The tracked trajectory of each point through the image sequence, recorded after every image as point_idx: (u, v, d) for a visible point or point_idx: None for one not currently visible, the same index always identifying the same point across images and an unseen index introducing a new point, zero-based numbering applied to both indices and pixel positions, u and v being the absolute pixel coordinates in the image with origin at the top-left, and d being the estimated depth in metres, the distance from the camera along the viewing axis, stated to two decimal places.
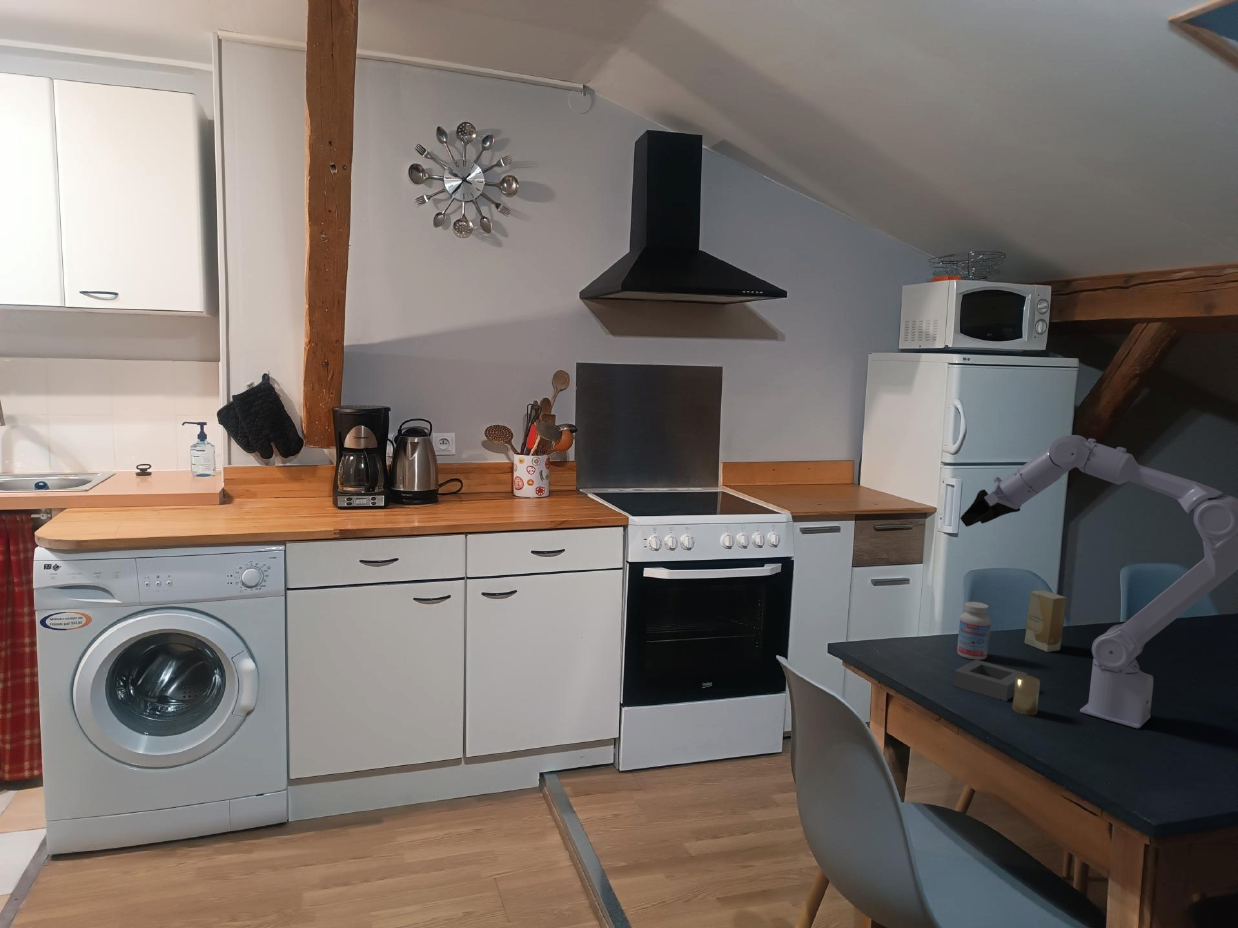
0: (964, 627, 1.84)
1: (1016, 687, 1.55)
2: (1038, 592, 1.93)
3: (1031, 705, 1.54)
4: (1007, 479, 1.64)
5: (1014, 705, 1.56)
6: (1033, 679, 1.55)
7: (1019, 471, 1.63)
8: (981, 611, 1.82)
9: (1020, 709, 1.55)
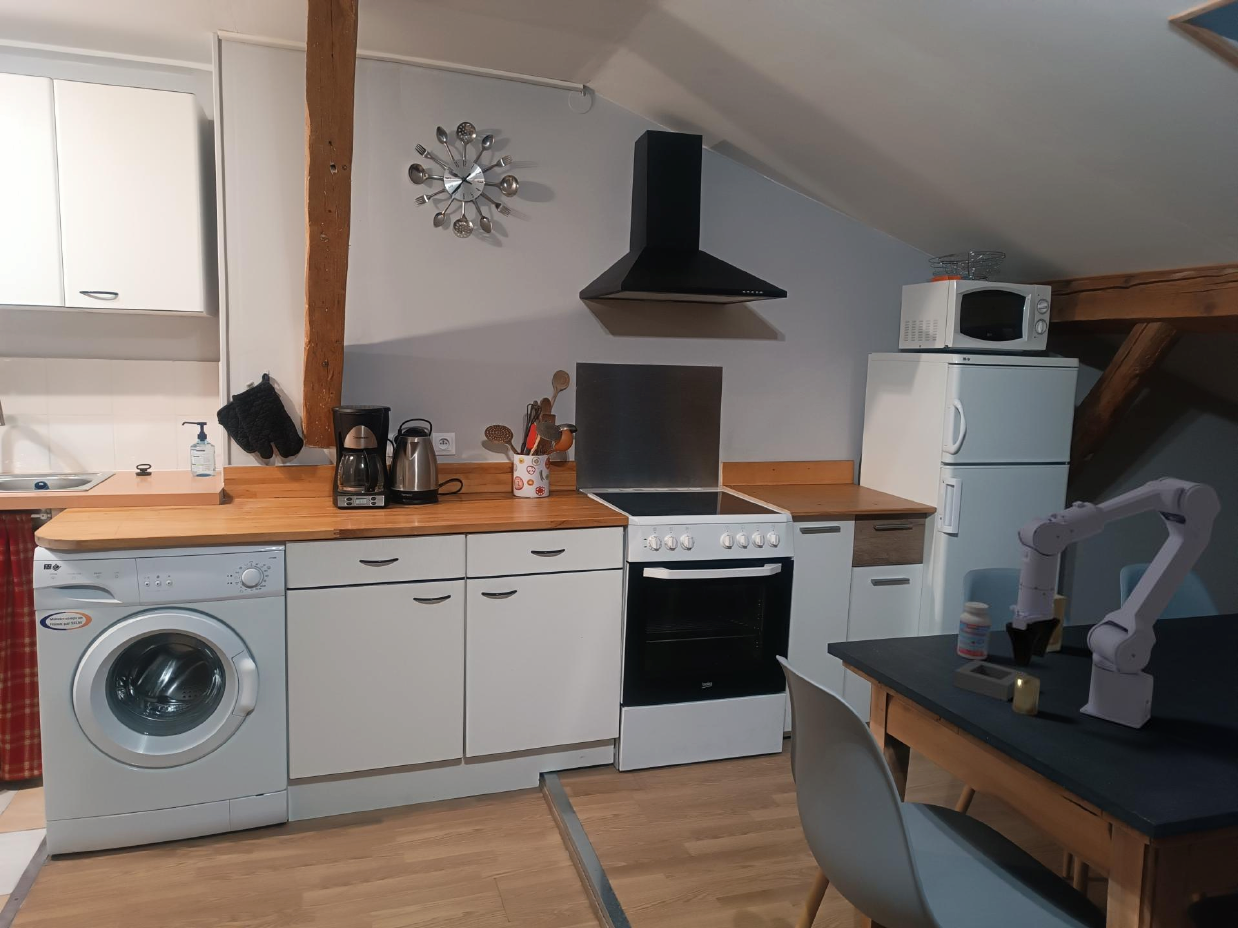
0: (964, 627, 1.84)
1: (1016, 687, 1.55)
2: None
3: (1031, 705, 1.54)
4: (1019, 599, 1.54)
5: (1014, 705, 1.56)
6: (1033, 679, 1.55)
7: (1021, 584, 1.53)
8: (981, 611, 1.82)
9: (1020, 709, 1.55)
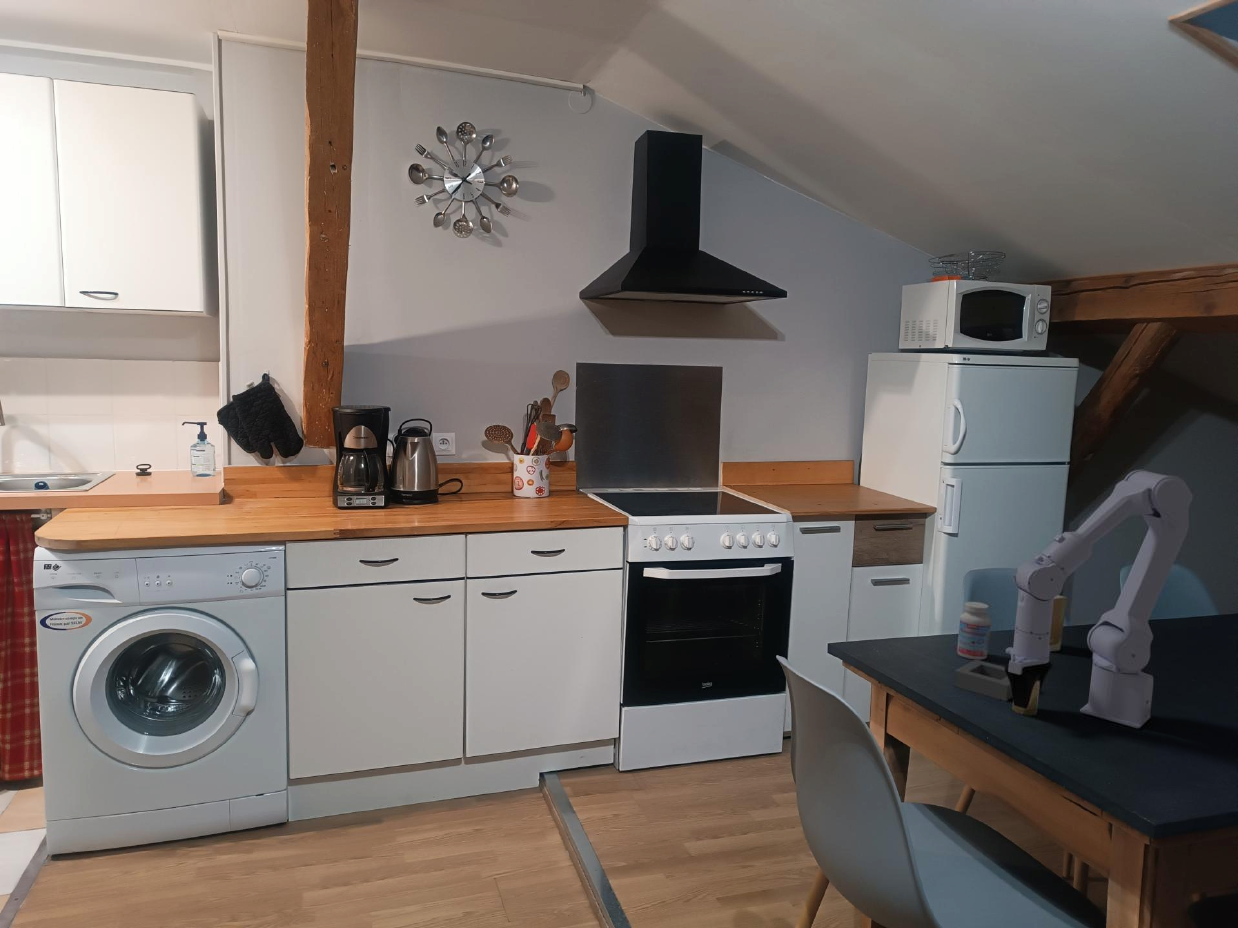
0: (964, 627, 1.84)
1: None
2: None
3: (1031, 705, 1.54)
4: (1014, 642, 1.55)
5: (1014, 705, 1.56)
6: None
7: (1016, 628, 1.54)
8: (981, 611, 1.82)
9: (1020, 709, 1.55)
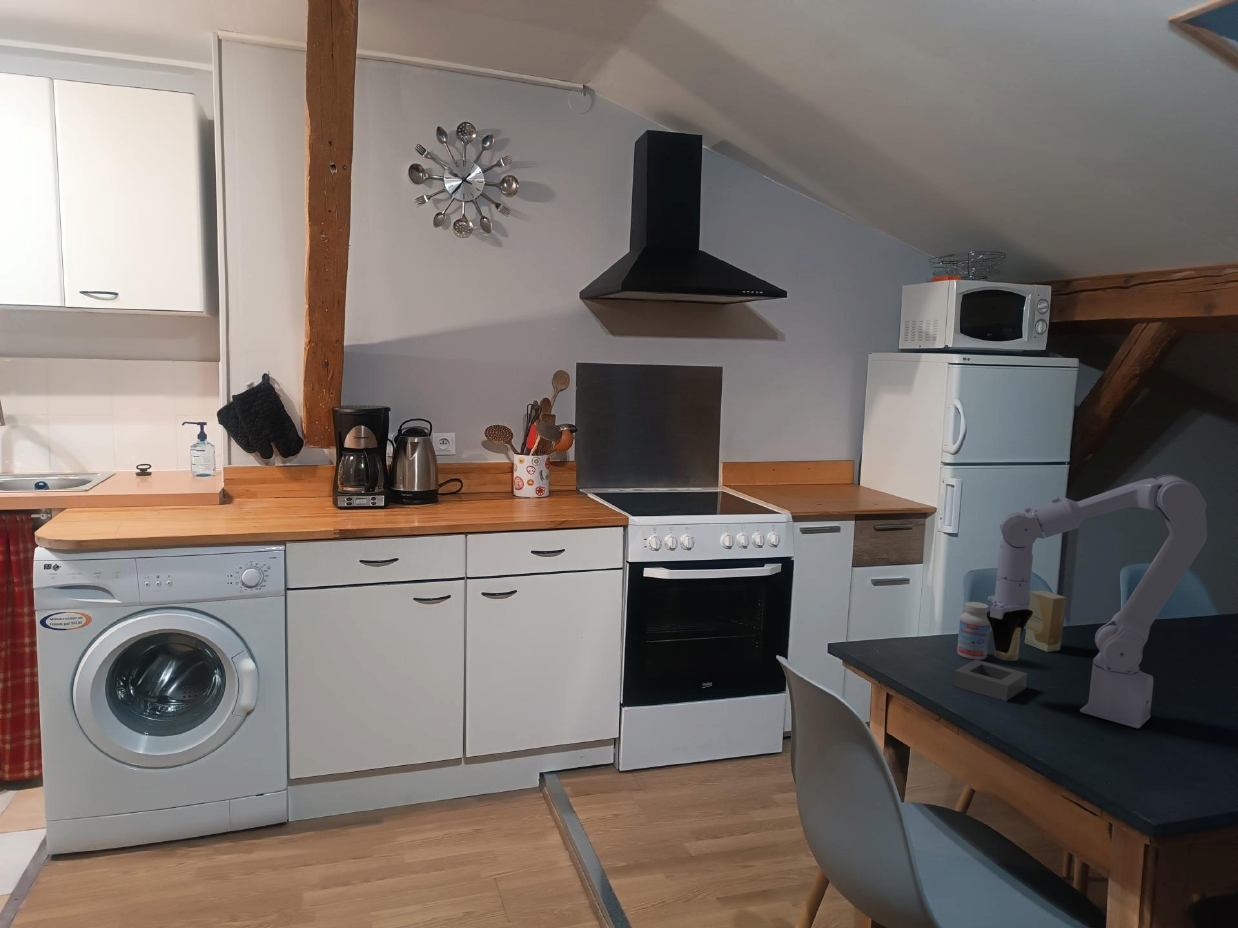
0: (964, 627, 1.84)
1: None
2: (1038, 592, 1.93)
3: (1012, 651, 1.60)
4: (996, 590, 1.61)
5: (996, 651, 1.62)
6: None
7: (998, 575, 1.60)
8: (981, 611, 1.82)
9: (1001, 654, 1.61)
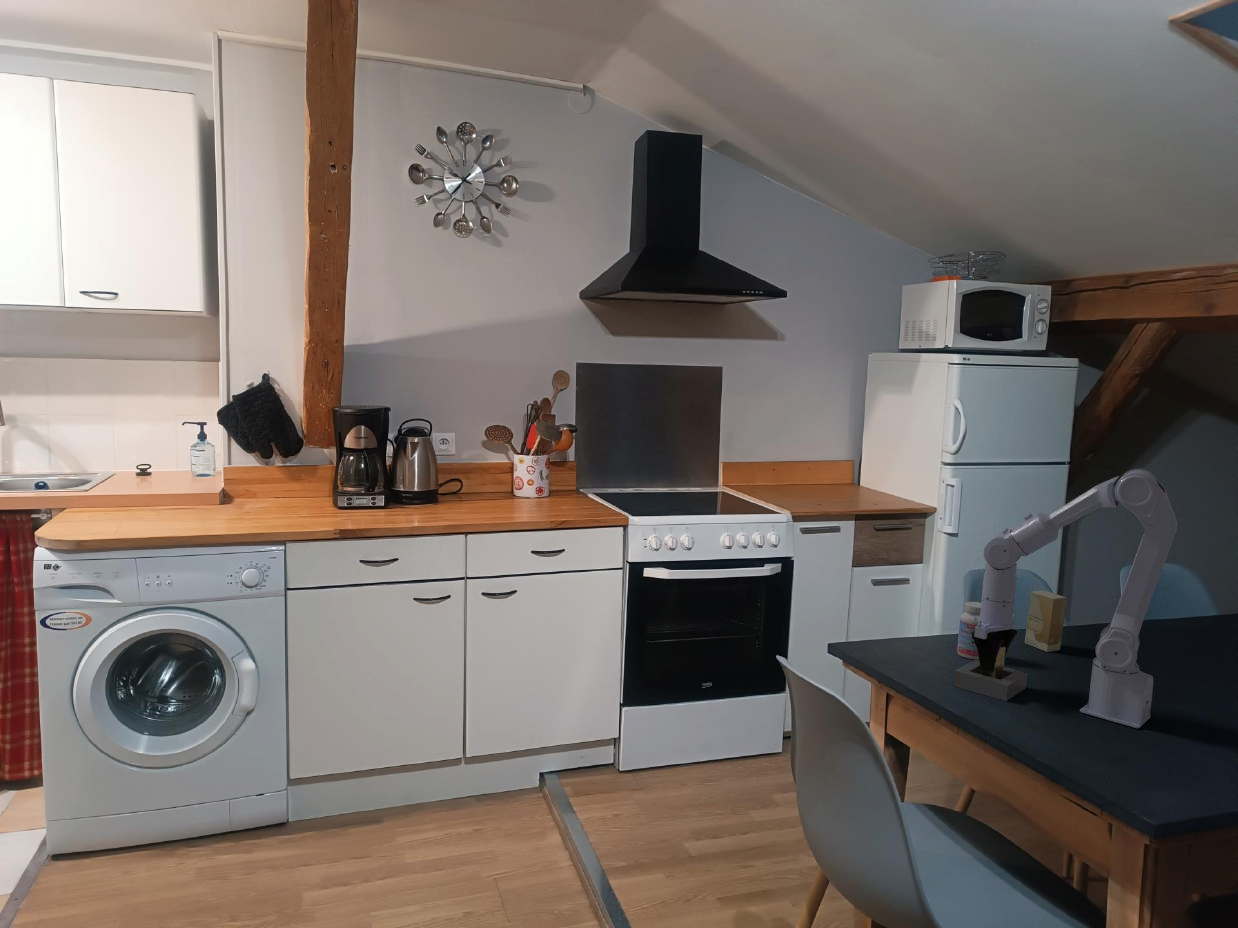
0: (964, 627, 1.84)
1: None
2: (1038, 592, 1.93)
3: (996, 669, 1.65)
4: (981, 610, 1.66)
5: (981, 669, 1.67)
6: None
7: (983, 596, 1.65)
8: None
9: (986, 673, 1.66)
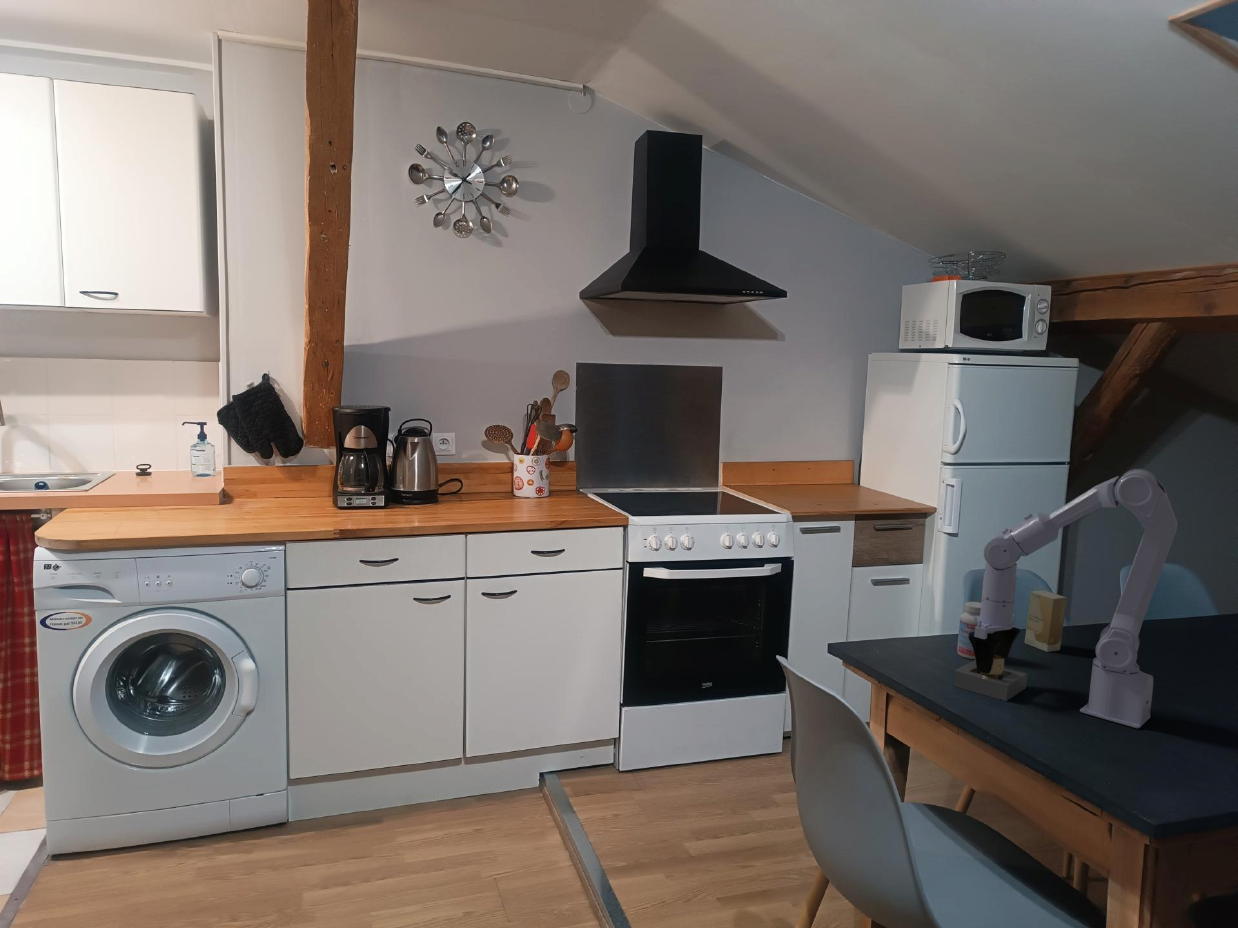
0: (964, 627, 1.84)
1: None
2: (1038, 592, 1.93)
3: None
4: (981, 610, 1.66)
5: None
6: (998, 657, 1.66)
7: (983, 596, 1.65)
8: None
9: None
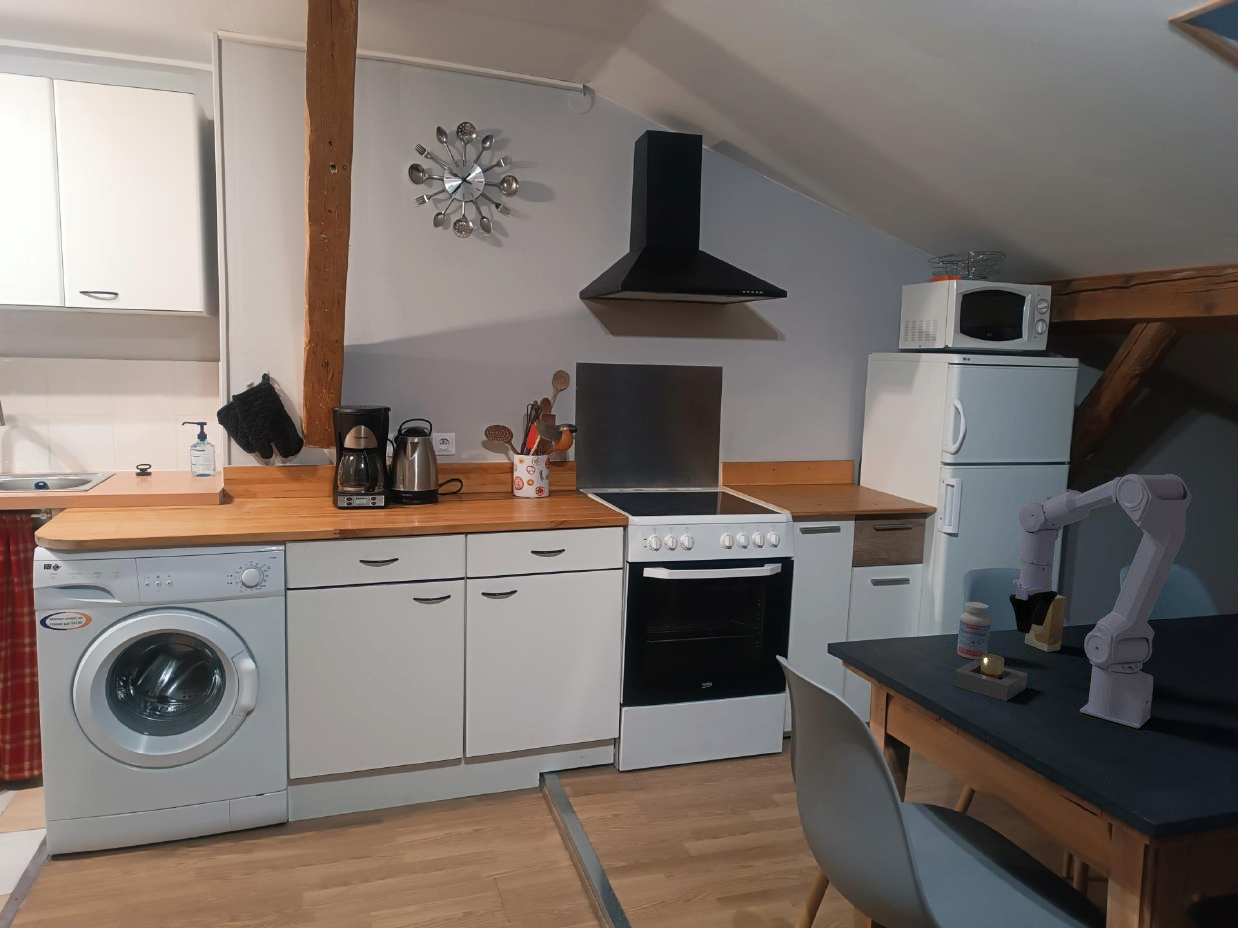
0: (964, 627, 1.84)
1: (982, 664, 1.67)
2: None
3: None
4: (1021, 573, 1.74)
5: None
6: (998, 657, 1.66)
7: (1022, 560, 1.73)
8: (981, 611, 1.82)
9: None
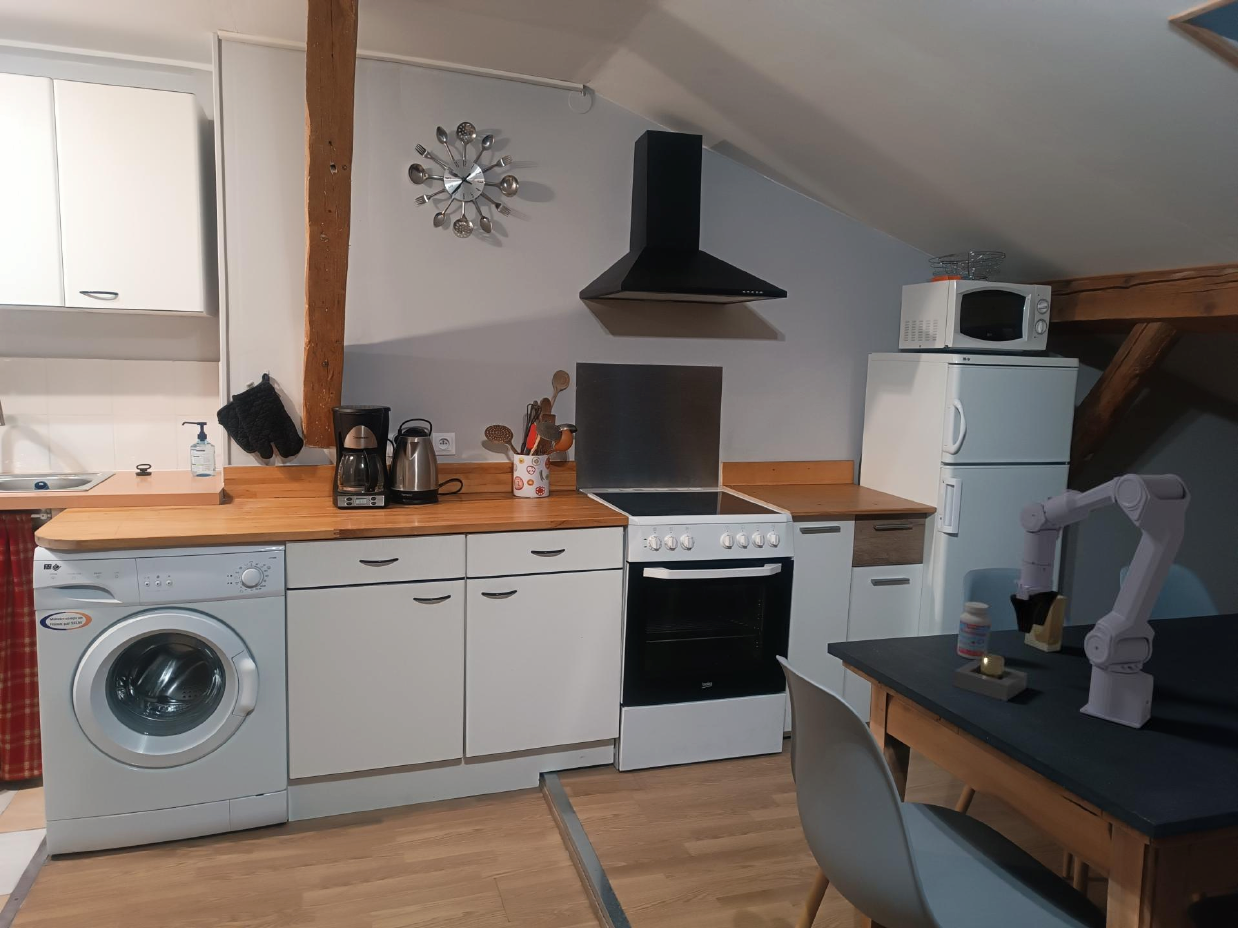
0: (964, 627, 1.84)
1: (982, 665, 1.67)
2: None
3: None
4: (1022, 573, 1.74)
5: None
6: (998, 657, 1.66)
7: (1023, 560, 1.73)
8: (981, 611, 1.82)
9: None
